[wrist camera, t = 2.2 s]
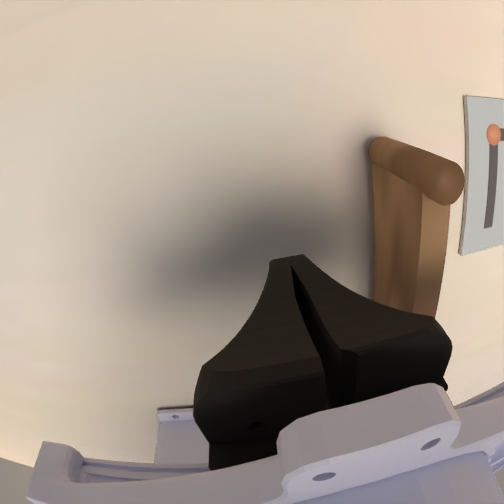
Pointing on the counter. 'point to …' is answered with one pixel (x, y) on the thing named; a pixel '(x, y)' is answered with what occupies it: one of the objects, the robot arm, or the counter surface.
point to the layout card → (483, 175)
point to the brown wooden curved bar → (411, 223)
